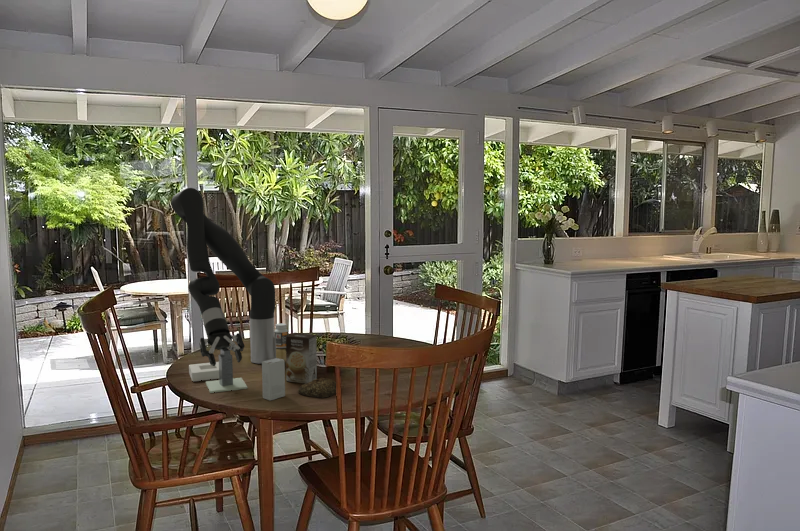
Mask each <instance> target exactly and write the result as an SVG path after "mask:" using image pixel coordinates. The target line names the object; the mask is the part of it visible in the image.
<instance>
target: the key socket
mask: <svg viewBox="0 0 800 531" xmlns="http://www.w3.org/2000/svg"><path fill="white" fill-rule="evenodd" d="M188 374H189V376H190V379H191V382H192V381H193V382H199V381H201V380H202V381H211V380H217V379H218V380H219V361H216V365H215V366H212V365H211V364H210V362H203V363H195V364H194V363H193V364H188ZM210 379H211V380H210ZM202 381H201V382H202Z"/></svg>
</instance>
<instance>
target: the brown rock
mask: <svg viewBox="0 0 800 531" xmlns="http://www.w3.org/2000/svg"><path fill="white" fill-rule="evenodd" d="M336 383H337V382H336V381H335V380H332V379H330V378H327V377H325V378H324V377H322V376H321V377H317V379H314V380H313V381H311V382H308V383H303V384H301V385H300V386H299V388H298V390H297V392H298V394H300V395H303V396H306V397H312V398H319V399H325V398H330V397H332V396H334V395H337V393H336ZM329 396H330V397H329Z"/></svg>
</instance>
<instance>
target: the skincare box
mask: <svg viewBox="0 0 800 531" xmlns="http://www.w3.org/2000/svg"><path fill="white" fill-rule="evenodd" d="M285 363H286V362H285V359H283V358H279V357H276V358H275V359H271V360H267V361H262V363H261V377H262V378H261V380H262V398H263V399H264V400H267V401H274V400H277V399H280V398H283V397H285V396H286V376H285V375H286V370H285V369H286V367H285V366H286V365H285Z"/></svg>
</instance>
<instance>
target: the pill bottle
mask: <svg viewBox="0 0 800 531" xmlns="http://www.w3.org/2000/svg"><path fill="white" fill-rule="evenodd" d="M288 335H289V329H287V323H283V322H282V323H275V329H274V336H275V337H276V349H286V336H288Z"/></svg>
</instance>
